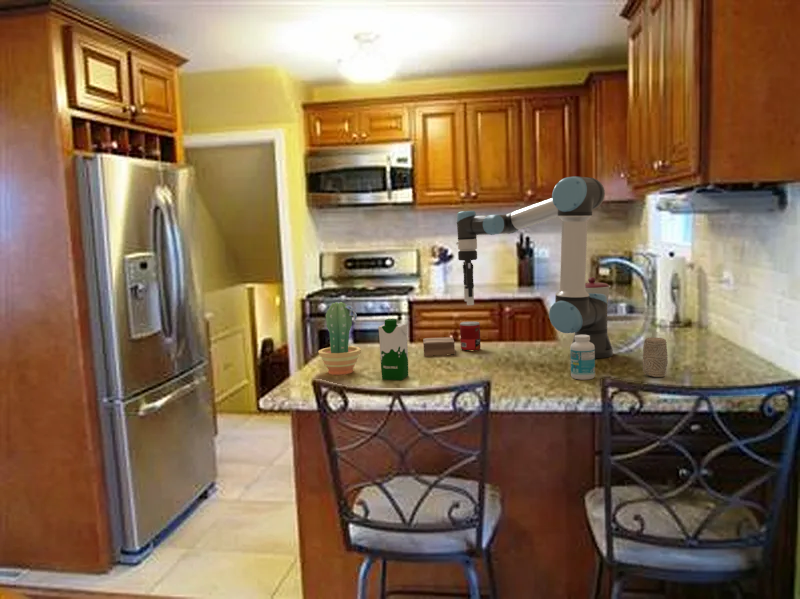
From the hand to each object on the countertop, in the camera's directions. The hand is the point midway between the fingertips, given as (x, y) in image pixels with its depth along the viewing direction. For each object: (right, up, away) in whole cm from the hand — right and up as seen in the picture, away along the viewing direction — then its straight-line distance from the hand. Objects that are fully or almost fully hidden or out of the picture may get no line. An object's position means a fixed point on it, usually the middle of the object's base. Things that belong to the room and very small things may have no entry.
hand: (469, 303), depth 266 cm
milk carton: (-29, -25, -43) cm, 58 cm away
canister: (+71, -8, +73) cm, 102 cm away
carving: (+52, -23, -58) cm, 82 cm away
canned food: (+1, -19, +2) cm, 19 cm away
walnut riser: (-12, -20, -2) cm, 23 cm away
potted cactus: (-49, -25, -29) cm, 62 cm away
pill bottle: (+30, -24, -56) cm, 68 cm away
